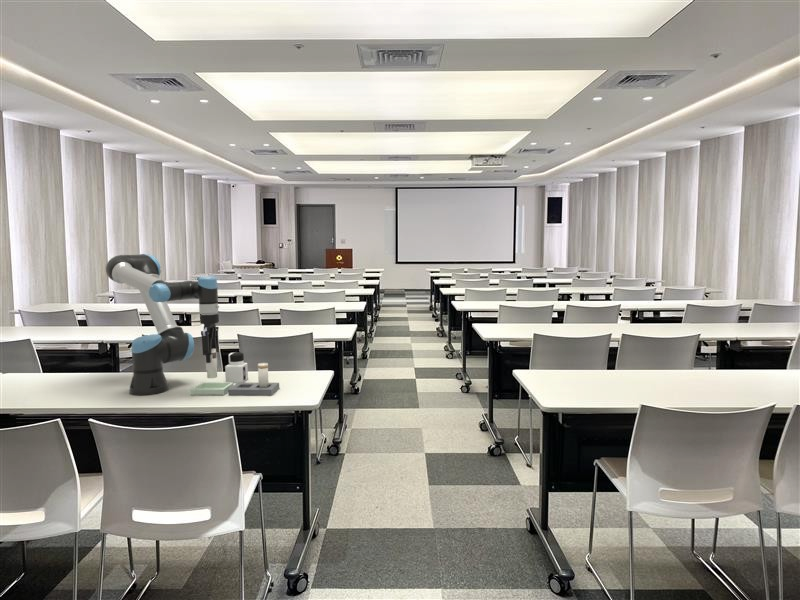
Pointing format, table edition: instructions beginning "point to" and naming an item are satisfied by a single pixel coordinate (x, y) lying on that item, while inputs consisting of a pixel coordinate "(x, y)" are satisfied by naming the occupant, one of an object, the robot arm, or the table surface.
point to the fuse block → (252, 389)
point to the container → (236, 368)
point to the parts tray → (211, 388)
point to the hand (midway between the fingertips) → (211, 368)
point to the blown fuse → (213, 372)
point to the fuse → (263, 375)
